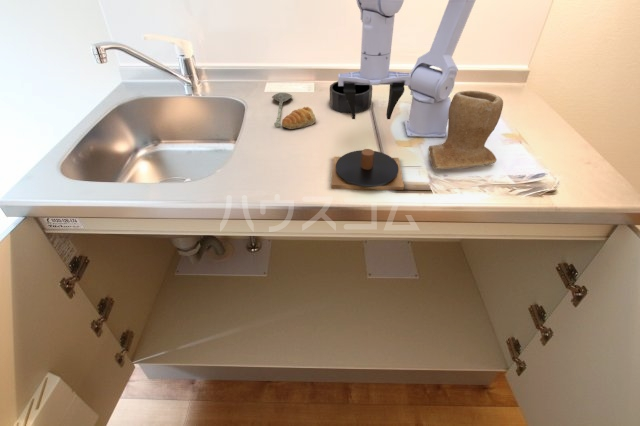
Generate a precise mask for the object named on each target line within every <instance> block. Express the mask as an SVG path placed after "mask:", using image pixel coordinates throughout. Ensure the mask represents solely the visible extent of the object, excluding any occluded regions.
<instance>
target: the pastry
mask: <svg viewBox="0 0 640 426" xmlns="http://www.w3.org/2000/svg"><path fill="white" fill-rule="evenodd" d="M316 121H317V118H316V116H315V113H314V110H313V109H312V108H311V107H309V106H303V107H301V108H298V109H293V110H292V111H291V112H290V113H289V114H287V115H286V116H285V117H284V118H282V120H281V127H283V128H286V129H289V130H296V129H301V128H306V127H308V126H312V125H313V124H315V123H316Z"/></svg>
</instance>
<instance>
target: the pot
mask: <svg viewBox="0 0 640 426" xmlns="http://www.w3.org/2000/svg"><path fill="white" fill-rule="evenodd" d="M355 87H356V88H355V114H360V113H363V112H366V111H368V110H369V109H370V108H371V106H372V99H373V85H355ZM329 107H330V108H331V109H332V110H333V111H335V112H338V113H342V114H351V109H350V106H349V103H348V100H347V98H346V96H345V94H344V86H338V80H337V81H335V82H333V83H332V84H330V85H329Z"/></svg>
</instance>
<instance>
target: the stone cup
mask: <svg viewBox="0 0 640 426" xmlns="http://www.w3.org/2000/svg"><path fill="white" fill-rule="evenodd" d="M503 108H504V100H503V98H502V97H501V96H499V95H497V94H495V93H491V92H487V91H480V90H461V91H458V92H455V94H454V95H453V97H452V99H451V103H450V107H449V113H448V117H449V119H448V123H447V137H446V139H445V141H444V142H443V143H440V144H433V145H429V146H428V152H429V153H428V154H429V155H428V157H429V161H430V163H431V166H432V168H433V169H434V170H452V169H465V168H466V169H467V168H475V167H483V166H489V165H493V164H495V163H496V162H497V157H496V156H495V154H494V153H493V151H492V150H491V149H489V148H487V147H486V146H485V145H486V142H487V141H488V139H489V137H490V136H491V134H492V133H493V131H495V129H496V127H497V125H498V123H499V121H500V119H501V115H502V112H503Z"/></svg>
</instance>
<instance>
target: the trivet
mask: <svg viewBox="0 0 640 426" xmlns="http://www.w3.org/2000/svg"><path fill="white" fill-rule="evenodd" d="M340 157H341V156H333V160H332V161H333V163H332V172H331V182H330V188H331V189H337V190H339V189H342V190H344V189H345V190H375V191H376V190H377V191H378V190H382V191H404V189H405V185H404V180H403V175H402V174H403V173H402V169H401V163H400V157H392V158H393V159H394V160H395V161H396V163H397V164H398V168H399V170H398V174H397V176H396V178H395V179H394V180H392V181H391V182H389V183H387V184H385V185H382V186H377V187H361V186H356V185H352V184H350V183H347V182H346V181H344V180H342V179H341V178H340V177H339V176H338V174H337V172H336V163H337V161H338V159H339V158H340Z"/></svg>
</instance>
